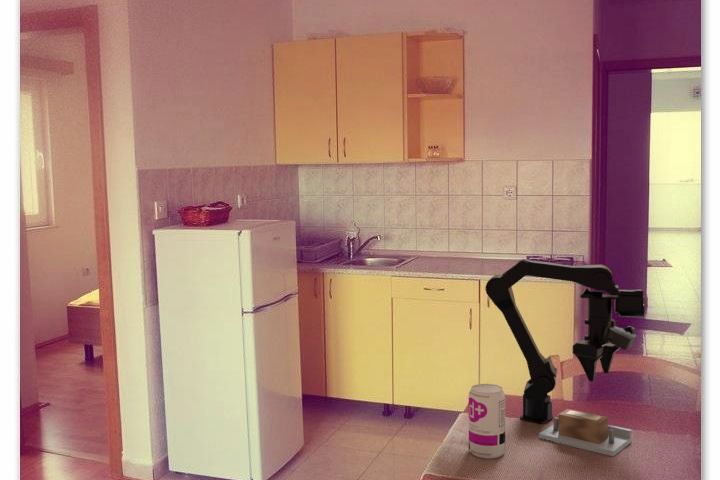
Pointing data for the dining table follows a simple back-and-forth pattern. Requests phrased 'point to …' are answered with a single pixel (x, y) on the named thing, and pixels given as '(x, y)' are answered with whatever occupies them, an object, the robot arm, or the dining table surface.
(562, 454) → the dining table surface
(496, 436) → the supplement can
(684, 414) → the dining table surface
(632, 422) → the dining table surface
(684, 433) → the dining table surface
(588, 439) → the brown wooden block
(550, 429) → the ledge
